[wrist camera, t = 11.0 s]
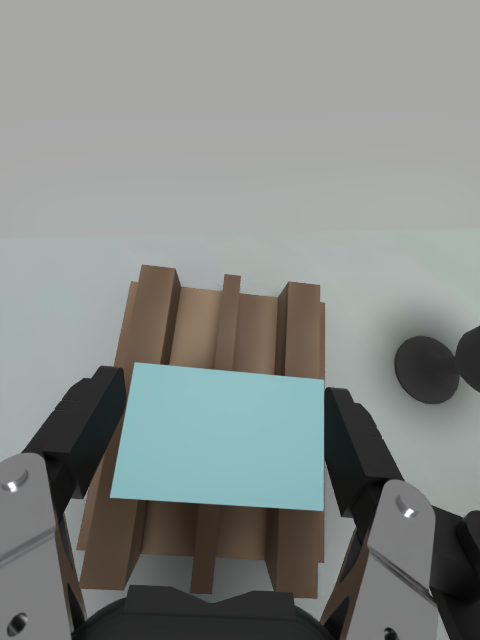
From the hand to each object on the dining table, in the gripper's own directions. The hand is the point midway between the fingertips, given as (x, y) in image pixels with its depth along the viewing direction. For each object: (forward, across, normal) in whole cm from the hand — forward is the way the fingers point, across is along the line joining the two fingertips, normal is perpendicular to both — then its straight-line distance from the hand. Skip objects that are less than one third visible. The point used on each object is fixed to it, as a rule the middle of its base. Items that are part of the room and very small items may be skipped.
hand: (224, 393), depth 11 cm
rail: (+5, 0, +6) cm, 8 cm away
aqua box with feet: (+4, 0, +6) cm, 7 cm away
